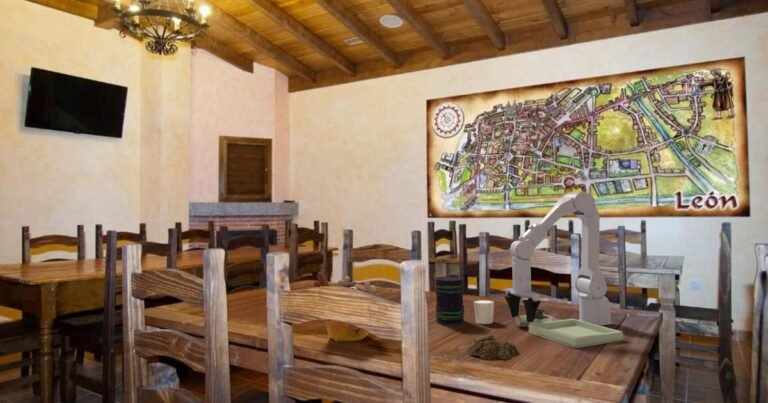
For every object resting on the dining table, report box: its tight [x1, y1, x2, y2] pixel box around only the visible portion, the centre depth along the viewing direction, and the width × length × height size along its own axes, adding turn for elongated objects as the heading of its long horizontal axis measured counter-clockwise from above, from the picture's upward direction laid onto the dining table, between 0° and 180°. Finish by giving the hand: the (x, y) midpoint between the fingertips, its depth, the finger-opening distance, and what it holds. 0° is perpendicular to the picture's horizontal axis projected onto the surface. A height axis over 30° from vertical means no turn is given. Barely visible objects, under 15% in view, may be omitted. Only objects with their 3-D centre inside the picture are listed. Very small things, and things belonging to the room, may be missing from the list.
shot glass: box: [473, 299, 495, 325], centre depth 163 cm, size 7×7×7 cm
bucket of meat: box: [313, 272, 377, 343], centre depth 146 cm, size 20×16×20 cm
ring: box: [514, 313, 554, 326], centre depth 156 cm, size 13×9×2 cm
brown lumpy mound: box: [467, 334, 519, 361], centre depth 128 cm, size 13×12×5 cm
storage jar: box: [434, 275, 465, 326], centre depth 164 cm, size 10×10×15 cm
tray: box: [528, 318, 624, 349], centre depth 142 cm, size 18×19×2 cm
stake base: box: [522, 307, 561, 328], centre depth 157 cm, size 13×11×6 cm
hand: (522, 319), depth 154 cm, fingers open, 7 cm apart
